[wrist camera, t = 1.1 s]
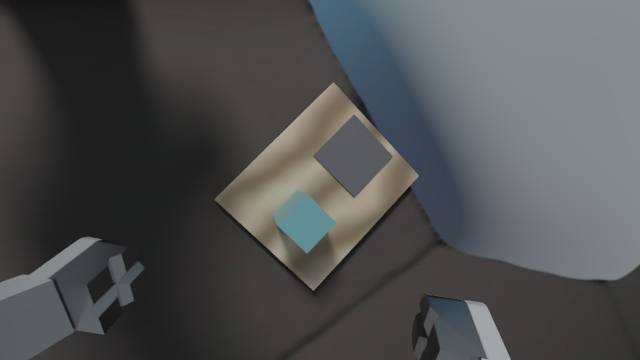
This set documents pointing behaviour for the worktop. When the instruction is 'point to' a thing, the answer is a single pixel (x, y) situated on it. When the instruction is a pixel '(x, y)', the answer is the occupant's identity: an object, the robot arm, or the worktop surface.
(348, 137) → the pad
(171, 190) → the worktop surface
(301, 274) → the post board
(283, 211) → the teal pillar
